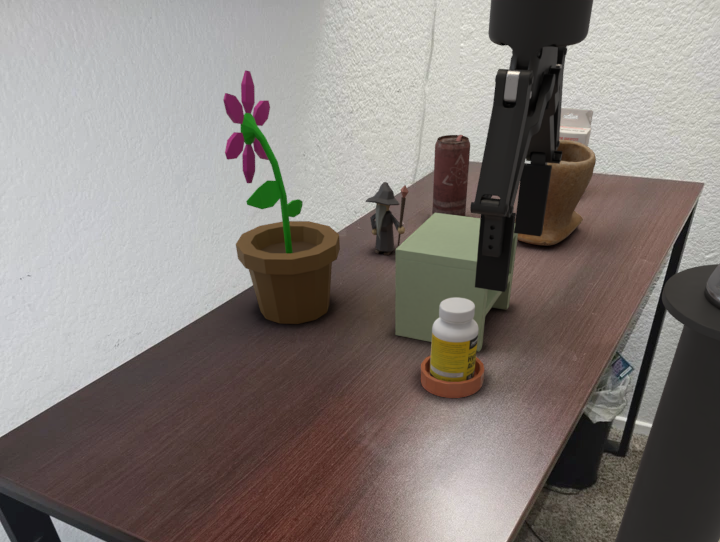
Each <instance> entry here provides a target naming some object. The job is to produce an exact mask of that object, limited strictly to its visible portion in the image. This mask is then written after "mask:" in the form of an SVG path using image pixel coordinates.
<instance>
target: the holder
mask: <svg viewBox="0 0 720 542" xmlns="http://www.w3.org/2000/svg"><path fill="white" fill-rule="evenodd" d="M430 360H431V354H430V355H428V356H426V357H425V358H424V359H423V360H422V362H421V363H420V384H421V386H422V387H423V388H424V390H426V391H427V392H428V393H430V394H432V395H435V396H436V397H441V398H447V399H459V398H461V399H462V398H465V397H469V396H473V395H474V394H476V393H477V392H479V391H480V390H481V388H482V387H483V384H484V381H485V380H484V378H485V365H484V363H483V361H481V359H480V358H478V357H477V356H476V361H475V370H474V377H473V378H471V379H470V380H465V381H461V382H447V381H443V380H438V379H436V378H434V377H432V376H430Z"/></svg>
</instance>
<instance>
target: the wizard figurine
mask: <svg viewBox="0 0 720 542" xmlns="http://www.w3.org/2000/svg"><path fill="white" fill-rule="evenodd" d="M394 193H395V192H394V191H393V189H392V188H391V186H390V185H389V182H387V181H384V182H382V184H381V185H380V186H379V189H378V190H377V192H376V193H375V194H374V195H373V196H370V197H368V198H366V199H365V203H373V204H375V213H374V214H373V215H371V216H370V219H369V220H370V226H371V229H372V230H371V234H372V235H373V236H375V246H374V247H375V250H374V253H376V254H378V255H380V254H382V253H383V256H390V255H391V254H392V252H394V250H395V237H394V228H395V230H396V231H397V233H398V235H397V236H398V237H397V247H398V246H400V244H401V243H400V242H401V235H405V232H406V227H404V224H403V221H404V214H405V209H406V208H405V206H406V200H407V198H406V197H407V195H408V194H409V190H408V188H407V185H406V184H404V185H403V186H402V187H401V188H400V194H401V199H400V200H401V201H400V202H399V201H398V200H397V199H396V198H395V197H396V196H395V194H394ZM399 205H400V213H399V220H398V219H397V218H396V217H395V215H394V214H393V212H392V211H391V210H390V207H391V206H399ZM393 225H394V226H393ZM397 247H396V248H397Z"/></svg>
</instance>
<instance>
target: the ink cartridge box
mask: <svg viewBox="0 0 720 542" xmlns="http://www.w3.org/2000/svg"><path fill="white" fill-rule="evenodd" d="M570 114H571V115H573V116H577V118H567V117H564V116H569V115H570ZM593 115H594V111H593V109H584V108H572V107H561V121H560V137H559V140H571V141H576V142H579V143H582V144H584V145H586V146H587V147H589V143H590V138H591V133H592V121H593Z"/></svg>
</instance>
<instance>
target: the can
mask: <svg viewBox="0 0 720 542" xmlns="http://www.w3.org/2000/svg"><path fill="white" fill-rule="evenodd" d="M470 154H471V142H470V138H469V137H468V136H466V135H463V134H446V135H442V136H439V137H437V139H436V141H435V144H434V159H433V160H434V161H433V165H434V166H433V187H432V188H433V189H432V210H431V211H432V212H431V213H432V214H431V216H432V215H433V214H434V213H442V214H450V215H457V216H465V217H466V211H467V210H466V209H467V198H468V184H469V183H468V182H469V171H470V156H471V155H470Z"/></svg>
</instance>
